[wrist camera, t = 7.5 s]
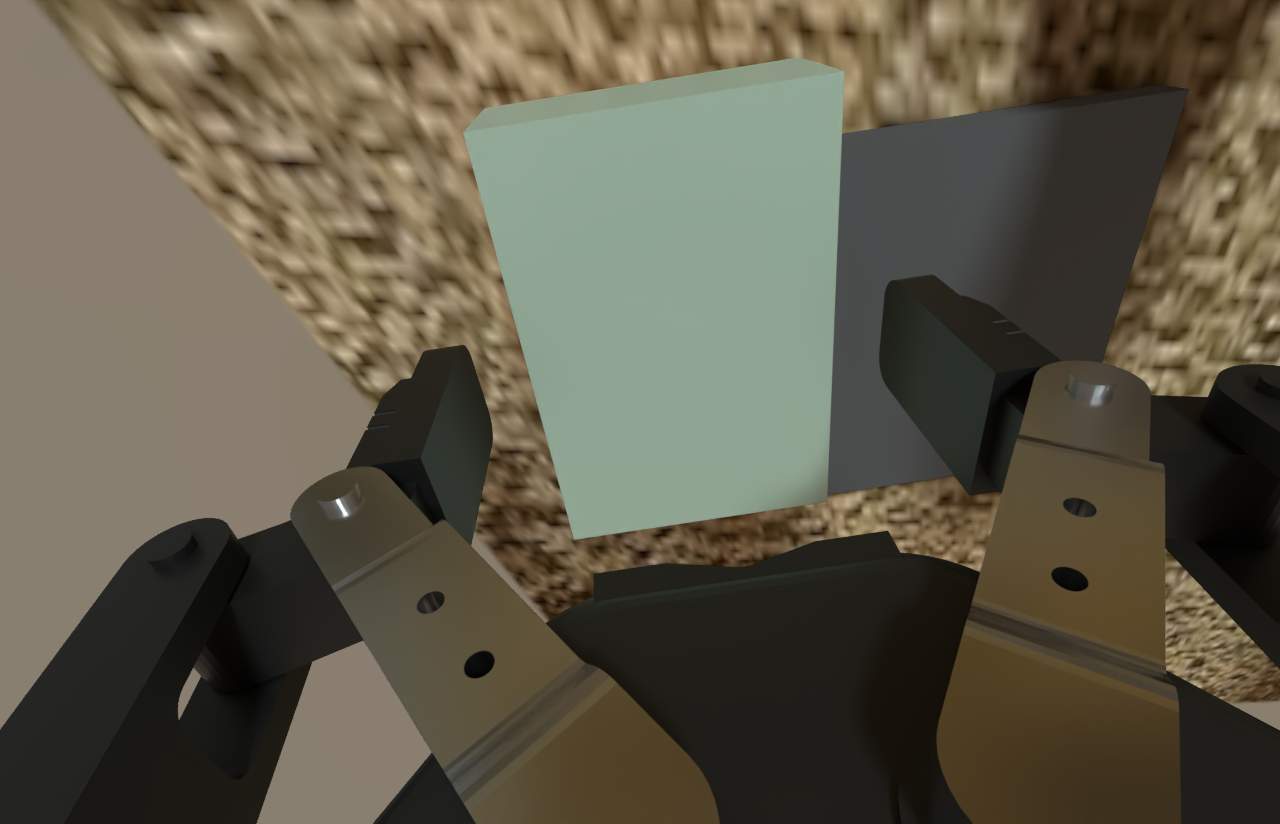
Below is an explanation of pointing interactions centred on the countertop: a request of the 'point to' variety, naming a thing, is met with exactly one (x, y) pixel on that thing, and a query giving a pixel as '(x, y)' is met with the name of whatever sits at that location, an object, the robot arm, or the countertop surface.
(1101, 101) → the mat
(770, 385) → the block
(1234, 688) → the countertop surface
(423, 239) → the countertop surface
